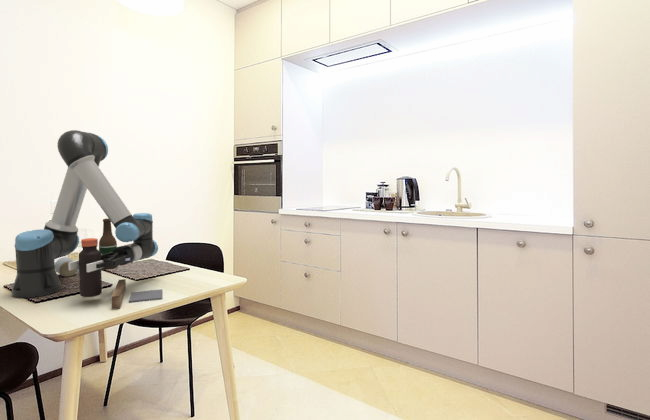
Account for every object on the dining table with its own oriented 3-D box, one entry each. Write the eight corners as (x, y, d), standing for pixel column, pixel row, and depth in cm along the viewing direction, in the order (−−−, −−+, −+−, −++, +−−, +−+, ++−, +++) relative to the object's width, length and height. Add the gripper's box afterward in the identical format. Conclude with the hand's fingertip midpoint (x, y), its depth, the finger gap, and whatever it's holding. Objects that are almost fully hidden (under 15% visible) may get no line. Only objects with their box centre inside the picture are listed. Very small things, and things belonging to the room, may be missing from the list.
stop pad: (128, 302, 136) (128, 301, 136) (131, 293, 146) (131, 292, 146) (162, 299, 140) (162, 297, 140) (162, 290, 150) (162, 289, 150)
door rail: (111, 309, 129) (111, 296, 129) (119, 290, 149) (118, 279, 149) (119, 308, 130) (119, 295, 130) (126, 290, 150) (125, 279, 150)
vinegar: (81, 292, 138) (80, 238, 136) (103, 290, 141) (101, 237, 139) (78, 298, 132) (76, 241, 130) (100, 296, 134) (99, 240, 133)
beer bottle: (101, 266, 188) (100, 218, 186) (119, 265, 190) (117, 217, 188) (97, 269, 181) (95, 219, 178) (115, 269, 183) (114, 219, 181)
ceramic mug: (59, 278, 165) (59, 261, 164) (54, 275, 170) (54, 258, 170) (87, 274, 173) (87, 258, 172) (81, 271, 178) (81, 255, 178)
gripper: (148, 265, 151) (103, 280, 128) (106, 261, 155) (55, 275, 133) (148, 246, 150) (102, 258, 128) (105, 243, 154) (54, 254, 132)
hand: (78, 267), depth 130 cm, fingers closed on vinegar, 7 cm apart
